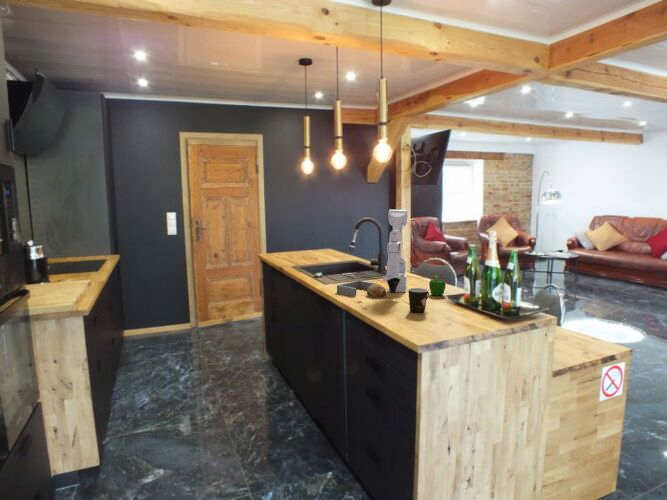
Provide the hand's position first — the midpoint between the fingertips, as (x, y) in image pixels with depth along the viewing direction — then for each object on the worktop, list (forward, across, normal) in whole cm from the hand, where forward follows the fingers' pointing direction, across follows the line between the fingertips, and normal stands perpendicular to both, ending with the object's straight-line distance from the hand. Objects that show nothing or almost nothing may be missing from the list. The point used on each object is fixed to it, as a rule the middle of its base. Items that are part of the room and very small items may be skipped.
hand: (392, 292), depth 214 cm
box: (+3, 0, -22) cm, 23 cm away
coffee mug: (+3, +10, +22) cm, 25 cm away
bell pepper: (+3, -24, +12) cm, 27 cm away
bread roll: (+3, 0, -10) cm, 11 cm away
